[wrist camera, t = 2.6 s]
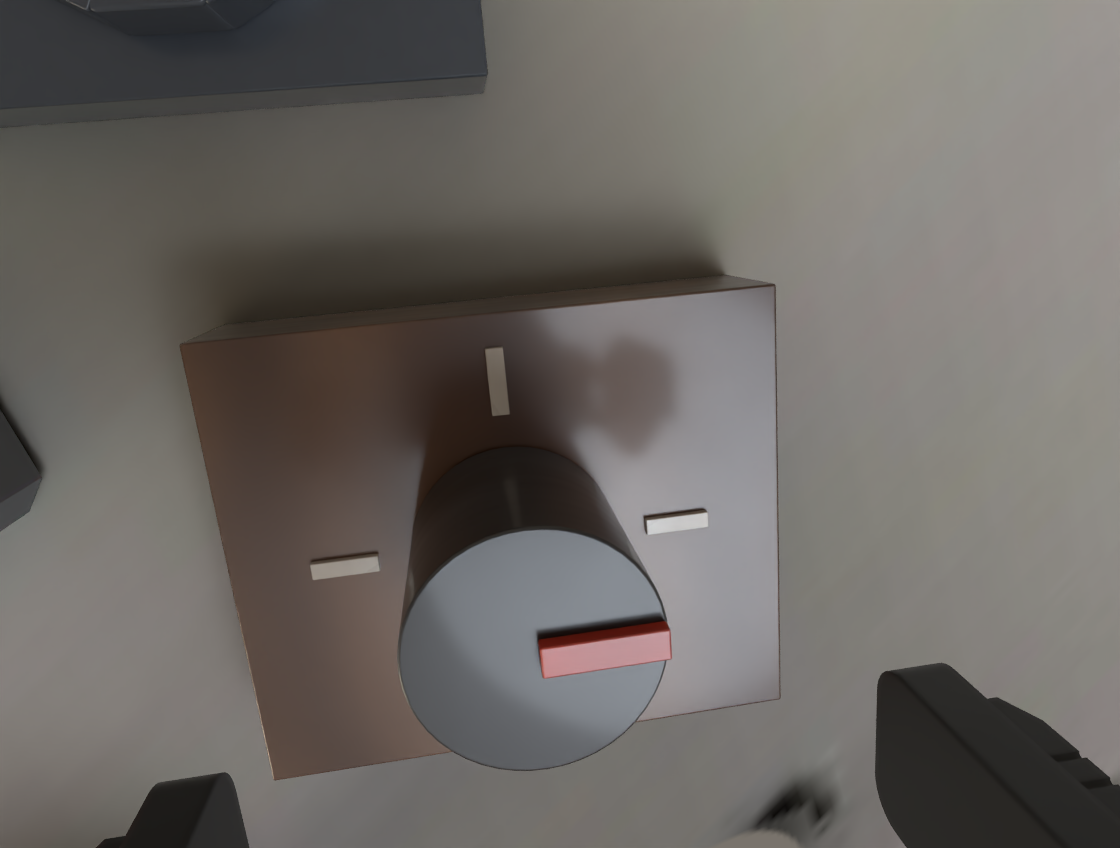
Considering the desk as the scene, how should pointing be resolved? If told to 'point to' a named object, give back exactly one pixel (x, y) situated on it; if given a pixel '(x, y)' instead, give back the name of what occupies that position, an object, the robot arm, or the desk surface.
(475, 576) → the dial
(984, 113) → the desk surface
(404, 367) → the dial panel
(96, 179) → the desk surface
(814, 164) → the desk surface
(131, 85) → the button box
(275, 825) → the desk surface
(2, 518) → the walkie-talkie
